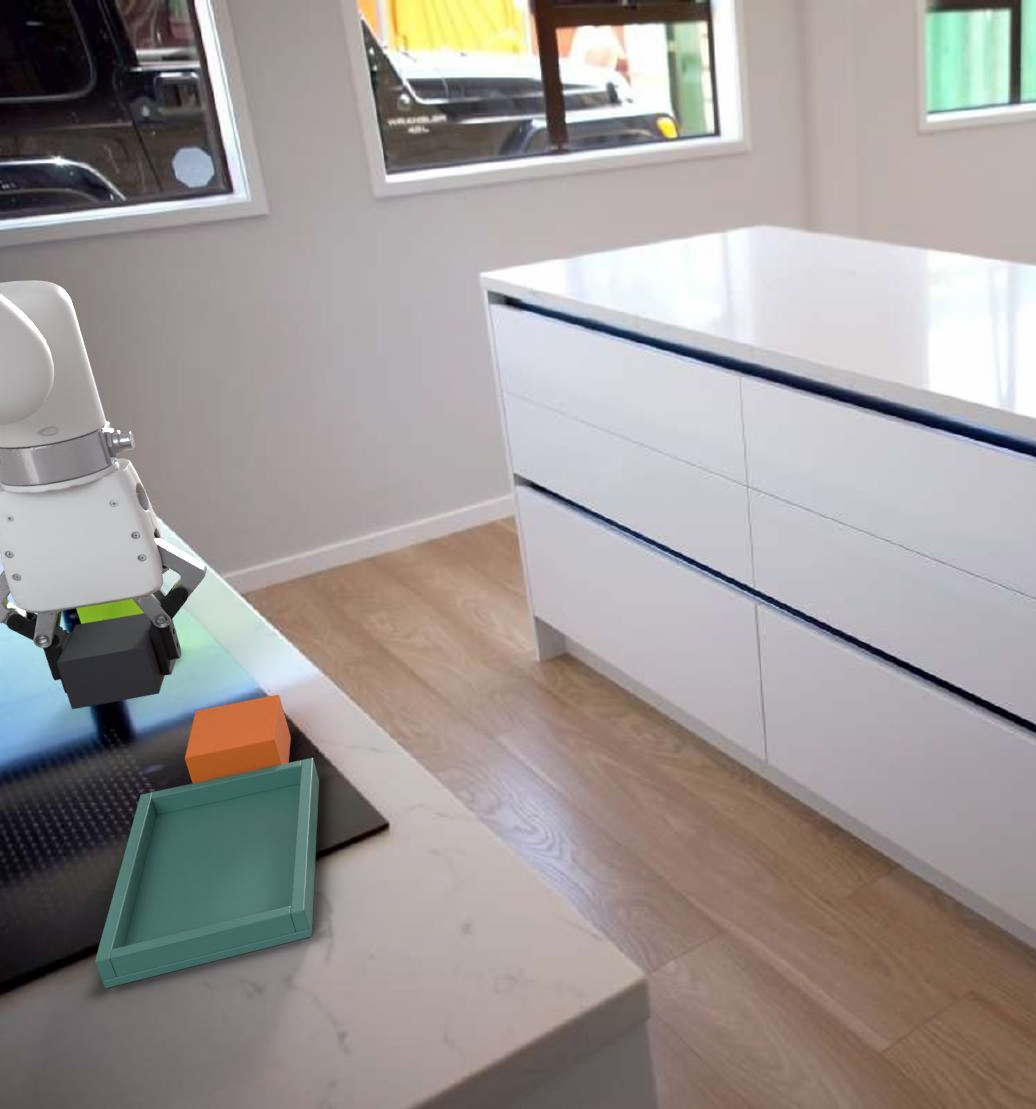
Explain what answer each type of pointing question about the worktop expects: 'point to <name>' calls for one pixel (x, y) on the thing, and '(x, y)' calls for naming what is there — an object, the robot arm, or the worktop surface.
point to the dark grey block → (110, 662)
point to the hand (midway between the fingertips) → (121, 674)
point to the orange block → (237, 739)
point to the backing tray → (214, 873)
